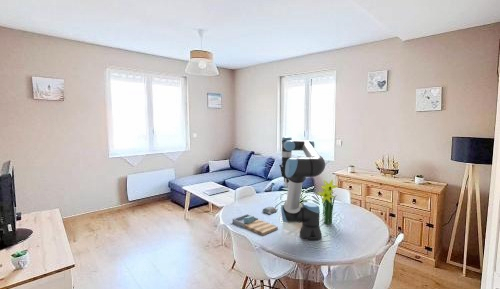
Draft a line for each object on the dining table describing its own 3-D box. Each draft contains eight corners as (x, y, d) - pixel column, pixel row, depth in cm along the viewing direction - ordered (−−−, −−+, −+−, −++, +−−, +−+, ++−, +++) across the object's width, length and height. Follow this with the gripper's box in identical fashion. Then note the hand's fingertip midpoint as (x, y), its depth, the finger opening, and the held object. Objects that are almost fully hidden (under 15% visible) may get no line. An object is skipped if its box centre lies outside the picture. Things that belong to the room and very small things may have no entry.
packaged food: (278, 212, 235) (278, 207, 234) (269, 216, 227) (269, 210, 226) (270, 210, 241) (270, 204, 241) (261, 213, 233) (261, 208, 232)
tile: (254, 221, 210) (253, 216, 210) (249, 223, 205) (248, 218, 206) (249, 221, 214) (248, 216, 214) (244, 223, 210) (243, 218, 210)
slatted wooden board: (277, 229, 199) (277, 226, 199) (263, 235, 188) (263, 232, 188) (258, 222, 214) (258, 219, 213) (244, 227, 202) (244, 224, 202)
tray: (258, 221, 214) (258, 218, 214) (243, 227, 203) (243, 223, 203) (247, 217, 223) (247, 214, 223) (232, 222, 212) (232, 219, 212)
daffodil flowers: (331, 230, 197) (332, 183, 194) (313, 225, 207) (314, 180, 204) (341, 223, 210) (342, 179, 207) (324, 219, 219) (324, 177, 217)
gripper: (296, 157, 206) (296, 186, 208) (283, 155, 215) (282, 184, 217) (290, 157, 201) (290, 188, 203) (277, 156, 210) (277, 185, 212)
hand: (286, 186), depth 210 cm, fingers closed
